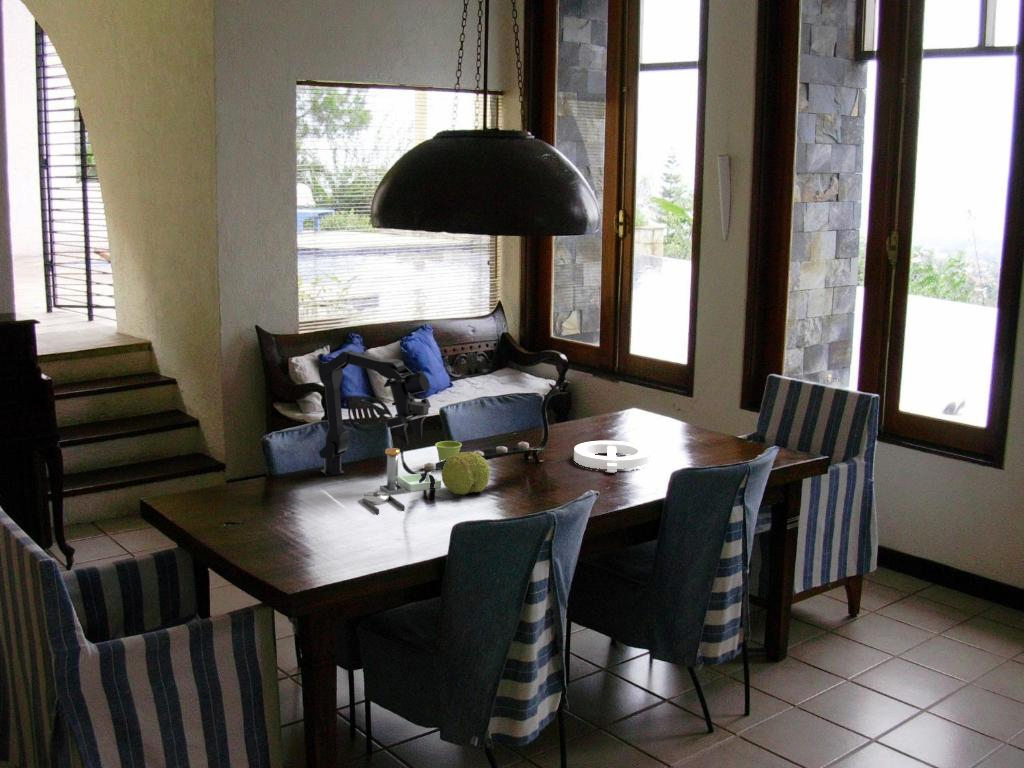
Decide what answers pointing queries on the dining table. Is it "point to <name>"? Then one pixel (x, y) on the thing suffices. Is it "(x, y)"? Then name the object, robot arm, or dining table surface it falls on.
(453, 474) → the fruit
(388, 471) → the lock pin
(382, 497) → the grey forked bracket
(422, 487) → the tray
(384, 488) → the tensioner base
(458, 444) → the plant pot
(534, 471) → the dining table surface
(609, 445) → the ring with crossbar
